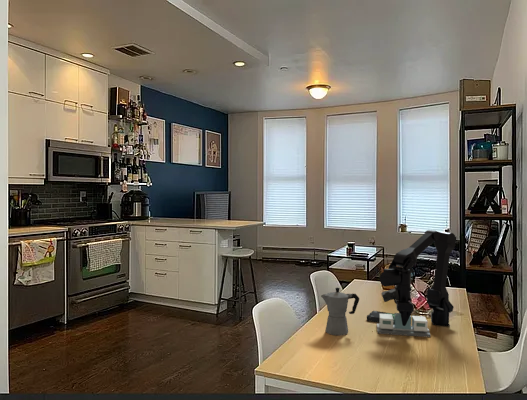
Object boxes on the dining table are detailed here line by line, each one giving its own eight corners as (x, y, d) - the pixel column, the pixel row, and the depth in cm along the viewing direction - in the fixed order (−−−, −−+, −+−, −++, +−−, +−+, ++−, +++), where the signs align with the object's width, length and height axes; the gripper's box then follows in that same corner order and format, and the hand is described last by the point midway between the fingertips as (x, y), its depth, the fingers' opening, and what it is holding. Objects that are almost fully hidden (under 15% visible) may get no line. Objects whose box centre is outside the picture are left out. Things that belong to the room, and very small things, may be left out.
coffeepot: (322, 335, 172) (322, 290, 172) (319, 328, 182) (319, 284, 181) (361, 336, 173) (362, 290, 172) (356, 328, 182) (356, 285, 182)
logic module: (409, 325, 180) (409, 313, 180) (411, 329, 176) (411, 317, 176) (394, 324, 182) (394, 312, 182) (395, 328, 177) (395, 315, 177)
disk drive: (366, 322, 193) (401, 327, 186) (366, 315, 193) (401, 320, 186) (372, 316, 202) (406, 321, 195) (372, 310, 202) (406, 314, 195)
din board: (426, 329, 182) (426, 315, 182) (430, 337, 172) (430, 322, 172) (376, 325, 186) (376, 312, 186) (377, 333, 176) (378, 319, 176)
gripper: (381, 278, 189) (381, 314, 190) (384, 288, 171) (383, 327, 171) (408, 279, 187) (408, 316, 187) (414, 289, 169) (413, 330, 169)
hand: (402, 322), depth 179 cm, fingers open, 9 cm apart
